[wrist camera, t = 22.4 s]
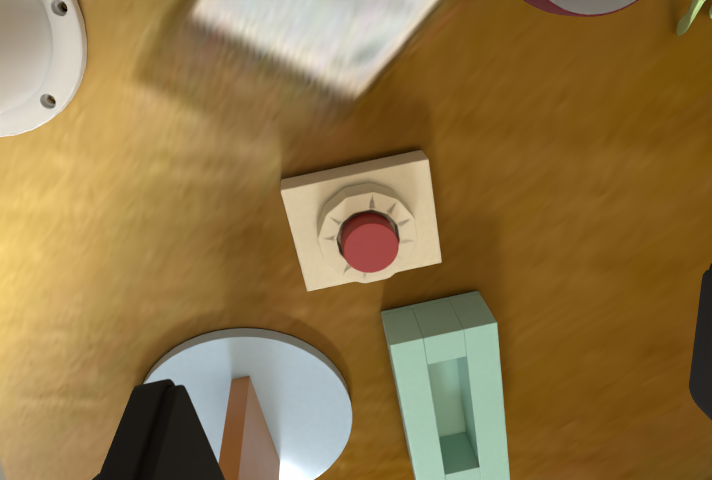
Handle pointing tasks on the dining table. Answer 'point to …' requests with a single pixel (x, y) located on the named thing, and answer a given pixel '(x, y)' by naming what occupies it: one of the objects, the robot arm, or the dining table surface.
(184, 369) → the plate
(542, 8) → the mug
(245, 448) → the copper rectangular plank
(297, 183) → the control block
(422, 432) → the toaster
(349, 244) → the stop button
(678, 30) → the figurine
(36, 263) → the dining table surface
